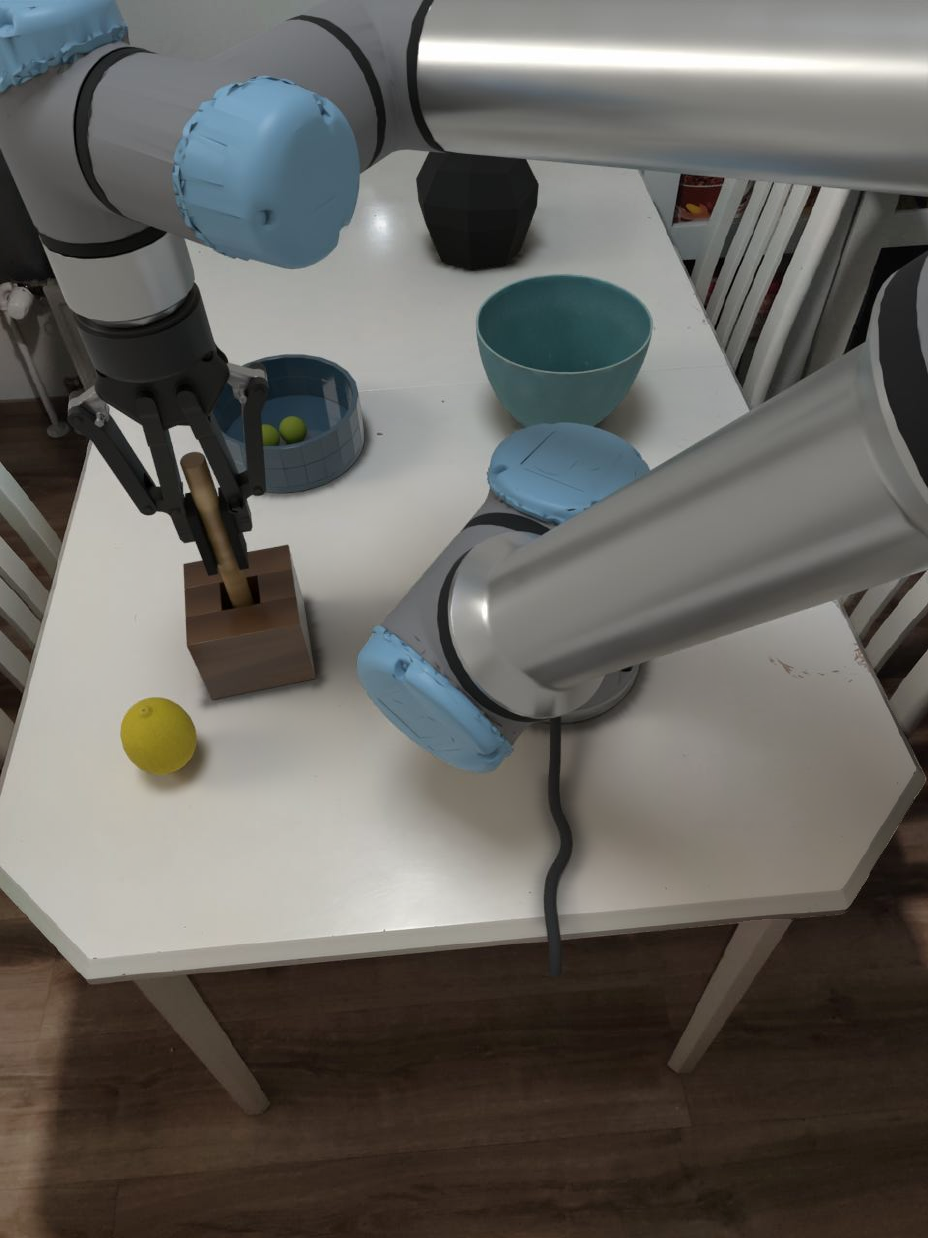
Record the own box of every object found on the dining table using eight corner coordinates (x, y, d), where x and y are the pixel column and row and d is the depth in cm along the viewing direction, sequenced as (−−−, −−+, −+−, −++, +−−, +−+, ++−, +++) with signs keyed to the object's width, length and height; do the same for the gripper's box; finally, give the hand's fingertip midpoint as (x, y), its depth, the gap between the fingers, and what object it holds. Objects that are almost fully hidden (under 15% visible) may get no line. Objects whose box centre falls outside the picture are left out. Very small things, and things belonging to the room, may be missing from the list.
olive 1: (258, 453, 96) (251, 455, 93) (252, 426, 95) (246, 426, 93) (284, 449, 96) (279, 450, 93) (279, 422, 95) (273, 422, 92)
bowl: (375, 478, 93) (369, 434, 89) (223, 504, 91) (209, 461, 87) (352, 387, 103) (346, 344, 98) (215, 410, 101) (201, 366, 96)
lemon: (126, 770, 72) (91, 719, 66) (174, 721, 75) (145, 668, 69) (173, 803, 70) (141, 754, 64) (221, 752, 73) (195, 700, 67)
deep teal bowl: (448, 398, 101) (444, 303, 92) (578, 350, 107) (587, 255, 97) (531, 490, 92) (536, 395, 82) (669, 432, 97) (689, 336, 87)
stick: (268, 649, 79) (205, 465, 61) (248, 653, 78) (179, 470, 61) (266, 634, 80) (204, 449, 62) (246, 637, 79) (179, 453, 62)
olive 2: (291, 434, 93) (269, 432, 94) (305, 450, 95) (283, 448, 96) (302, 411, 94) (280, 409, 95) (315, 428, 96) (294, 426, 97)
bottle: (430, 217, 128) (416, -28, 104) (541, 223, 126) (552, -25, 103) (409, 275, 118) (389, 19, 95) (529, 282, 116) (539, 23, 93)
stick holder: (315, 678, 77) (300, 623, 71) (211, 700, 76) (186, 645, 70) (303, 601, 83) (288, 544, 77) (206, 620, 82) (182, 563, 75)
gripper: (253, 244, 55) (313, 511, 73) (10, 278, 53) (134, 543, 71) (264, 309, 50) (325, 576, 69) (-3, 349, 48) (134, 612, 67)
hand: (227, 559), depth 70 cm, fingers closed on stick, 2 cm apart
